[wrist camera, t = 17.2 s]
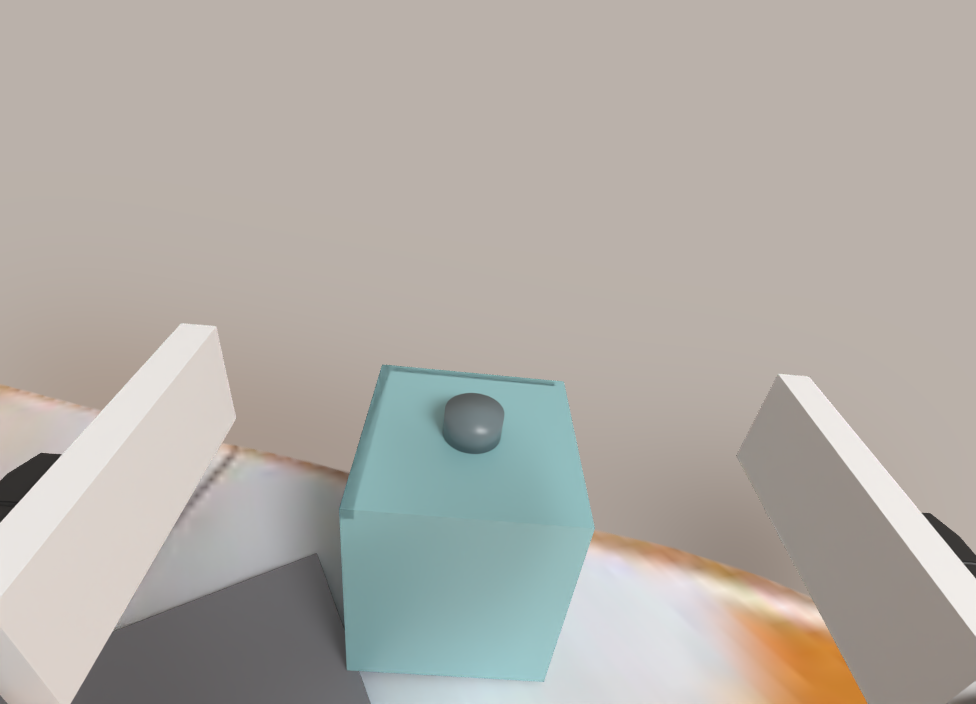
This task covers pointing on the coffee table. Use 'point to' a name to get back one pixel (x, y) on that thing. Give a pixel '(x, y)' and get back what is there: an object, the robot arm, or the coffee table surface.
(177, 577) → the coffee table surface
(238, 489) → the coffee table surface
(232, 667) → the mat
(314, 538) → the coffee table surface
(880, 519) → the robot arm
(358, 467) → the teal box with knob
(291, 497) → the coffee table surface
